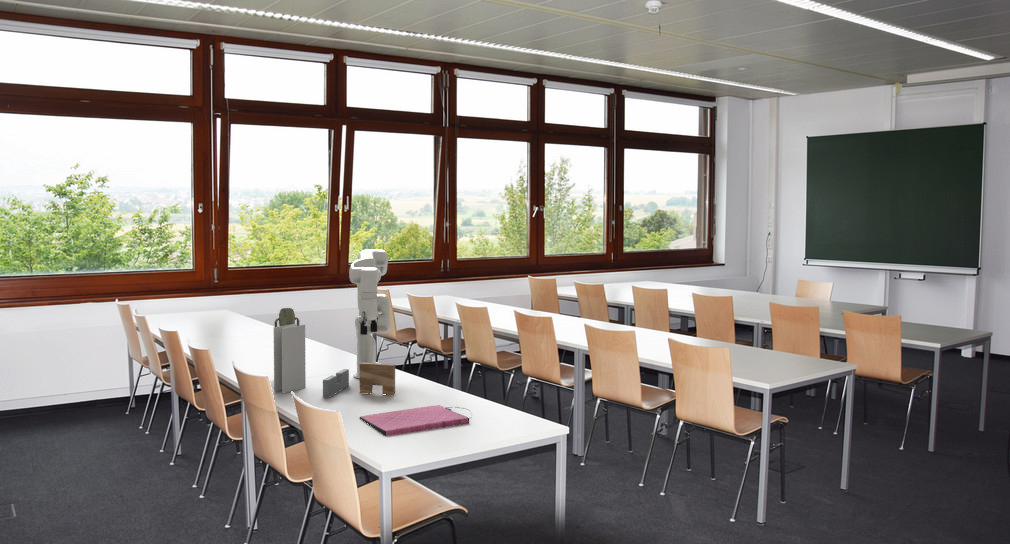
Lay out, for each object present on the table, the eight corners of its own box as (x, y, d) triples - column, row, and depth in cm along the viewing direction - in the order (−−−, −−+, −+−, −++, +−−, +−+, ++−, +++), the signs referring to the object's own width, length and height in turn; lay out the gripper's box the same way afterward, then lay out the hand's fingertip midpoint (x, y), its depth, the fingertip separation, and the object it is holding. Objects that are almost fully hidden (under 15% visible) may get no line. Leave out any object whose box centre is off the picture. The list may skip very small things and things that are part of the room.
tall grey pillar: (297, 386, 357) (296, 323, 355) (305, 387, 355) (305, 324, 352) (274, 391, 345) (273, 327, 343) (282, 393, 342) (282, 328, 340)
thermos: (272, 378, 373) (271, 308, 370) (295, 375, 380) (295, 306, 377) (278, 381, 366) (277, 310, 363) (302, 378, 373) (301, 308, 370)
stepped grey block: (343, 385, 360) (343, 369, 359) (348, 385, 359) (348, 369, 359) (322, 397, 336) (322, 379, 336) (328, 397, 336) (328, 380, 335)
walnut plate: (362, 392, 347) (362, 362, 346) (395, 394, 344) (395, 364, 343) (359, 393, 344) (359, 363, 343) (392, 395, 341) (393, 365, 340)
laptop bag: (385, 427, 280) (359, 411, 303) (385, 437, 280) (359, 421, 304) (478, 412, 301) (447, 399, 324) (478, 422, 301) (447, 408, 324)
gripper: (370, 294, 351) (370, 330, 352) (352, 297, 335) (352, 335, 336) (384, 294, 349) (384, 331, 350) (367, 297, 333) (367, 336, 334)
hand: (368, 333), depth 343 cm, fingers open, 9 cm apart
